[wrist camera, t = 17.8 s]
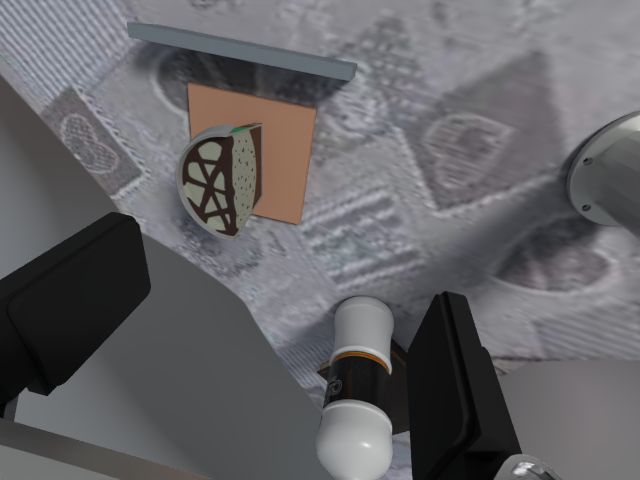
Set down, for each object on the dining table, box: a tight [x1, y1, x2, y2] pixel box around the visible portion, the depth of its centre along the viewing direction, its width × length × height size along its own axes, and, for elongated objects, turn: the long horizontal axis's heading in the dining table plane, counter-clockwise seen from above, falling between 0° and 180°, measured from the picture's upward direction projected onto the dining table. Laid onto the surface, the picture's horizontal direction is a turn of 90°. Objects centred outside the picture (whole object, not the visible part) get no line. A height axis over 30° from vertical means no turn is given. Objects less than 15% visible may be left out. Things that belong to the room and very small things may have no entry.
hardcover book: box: [317, 338, 410, 435], centre depth 59 cm, size 16×23×2 cm
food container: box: [176, 123, 263, 242], centre depth 35 cm, size 12×6×10 cm, turn 174°
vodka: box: [315, 296, 394, 480], centre depth 39 cm, size 9×9×30 cm
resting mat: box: [188, 83, 317, 225], centre depth 40 cm, size 15×15×1 cm
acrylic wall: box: [127, 22, 357, 81], centre depth 32 cm, size 22×1×5 cm, turn 81°
